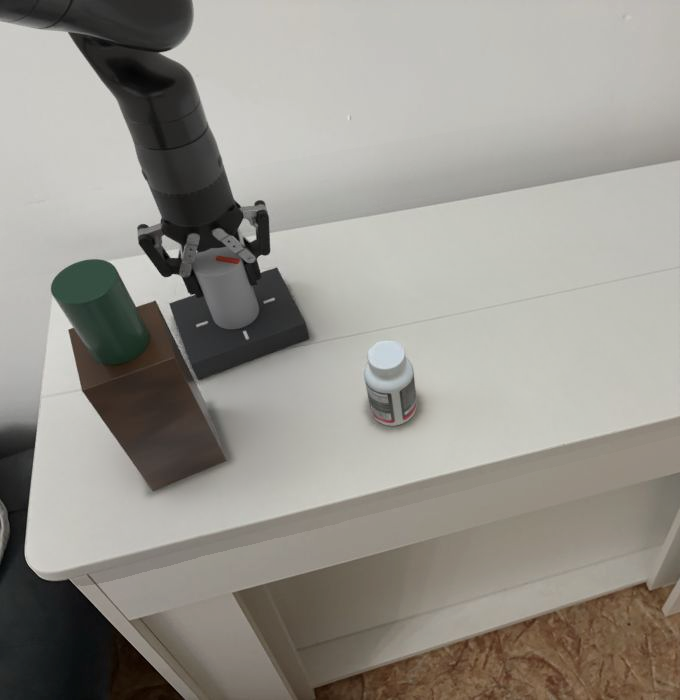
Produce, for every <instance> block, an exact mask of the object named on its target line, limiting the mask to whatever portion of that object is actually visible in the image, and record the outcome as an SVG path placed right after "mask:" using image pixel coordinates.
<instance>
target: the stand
mask: <svg viewBox="0 0 680 700" xmlns="http://www.w3.org/2000/svg"><path fill="white" fill-rule="evenodd" d="M136 308H137V310H138V311H139V313H140V315H141V317H142V319H143V321H144V323H145V325H146V327H147V329H148V331H149V333H150V341H149V344H148V346H147V348H146V349H145V350H144V351H143V352H142V353H141V354H140V355H139V356H138V357H136V358H135V359H133V360H131V361H129V362H126V363H123V364H119V365H105V364H101V363H99V362H97V361H96V360H94V358H93V357H92V356H91V354H90V353H89V351H88V349H87V348H86V346H85V345H84V343H83V342H82V340H81V339H80V337H79V335H78V334H77V332H76V331H75V329H74V328H73V327H72V328H69V329H68V330H67V331H68V336H69V339H70V344H71V348H72V353H73V357H74V358H73V359H74V362H75V366H76V371H77V375H78V380H79V385H80V389H81V392H82V393H83V395H84V396H85V397H86V399H87V400H88V401H89V404H90V405H91V406H92V407H93V409H94V410H95V412H96V413H97V415H98V416H99V417H100V419H101V420H102V421H103V423H104V425H105V426H106V428H107V429H108V430H109V431H110V433H111V435H112V436H113V437H114V438H115V440H116V441H117V443H118V444H119V446H120V448H121V449H122V450H123V451H124V453H125V455H126V456H127V457H128V458H129V460H130V461H131V463H132V464H133V466H134V467H135V468H136V470H137V472H138V473H139V474H140V476H141V477H142V478H143V480H144V482H145V483H146V485H147V486H148V487H149V488H150V490H151V491H152V492H154V491H157V490H159V489H161V488H165V487H166V486H168V485H171V484H173V483H176V482H178V481H181V480H183V479H186V478H188V477H190V476H193V475H196V474H198V473H200V472H203V471H205V470H208V469H210V468H212V467H215V466H217V465H220V464H223V463H224V462H227V457H226V455H225V451H224V448H223V446H222V443H221V441H220V437H219V435H218V431H217V429H216V426H215V423H214V421H213V417H212V415H211V412H210V410H209V409H210V408H209V407H208V405H207V403H206V401H205V399H204V397H203V395H202V393H201V391H200V389H199V387H198V385H197V383H196V380H195V378H194V376H193V375H192V372H191V370H190V368H189V366H188V364H187V362H186V359H185V357H184V355H183V354H182V352H181V349H180V348H179V345H178V343H177V342H176V340H175V337H174V335H173V333H172V331H171V329H170V327H169V325H168V323H167V321H166V319H165V317H164V315H163V312H162V311H161V308H160V306H159V304H158V302H157V301H156V300H153V301H150V302H147V303H143V304H141V305H138V306H136Z"/></svg>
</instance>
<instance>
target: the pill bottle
mask: <svg viewBox="0 0 680 700" xmlns="http://www.w3.org/2000/svg"><path fill="white" fill-rule="evenodd" d="M366 357H367V362H366V364H365V366H364V368H363V378H364V383H365V388H366V393H367V399H368V403H369V409H370V413H371V415H372V417H373V419H374V420H375V421H377V422H378V423H380V424H382V425H385V426H390V427H391V426H392V427H393V426H399V425H402V424H404V423H406V422H408V421H409V420H411V418H413V416H414V414H416V410H417V407H418V406H417V405H418V404H417V403H418V402H417V401H418V399H417V391H416V381H415V371H414V366H413V363H412V361H411V360H410V359H409V358H408V357H407V355H406V351H405V349H404V347H403V346H402V345H401V344H400V343H399V342H397V341H395V340H390V339H389V340H386V339H385V340H380V341H377V342H376V343H375V344H373V345H372V346H371V347H370V348H369V349H368V352H367V356H366Z"/></svg>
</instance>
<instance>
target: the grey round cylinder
mask: <svg viewBox="0 0 680 700" xmlns="http://www.w3.org/2000/svg"><path fill="white" fill-rule="evenodd" d="M192 268H193V271H194V273H195V276H196V278H197V280H198V283H199V285H200V288H201V290H202V293H203V295H204V298H205V300H206V303H207V305H208V307H209V310H210V312H211V315H212V317H213V320H214V322H215V323H216V324H217V325H218V326H220V327H221V328H224V329H239V328H243V327H245V326H247V325H249V324H250V323H252V322H253V321H254V320H255V319H256V317H257V316H258V313H259V305H258V302H257V299H256V296H255V293H254V290H253V287H252V286H251V283H250V279H249V276H248V273H247V270H246V267H245V263H244V260H243V259H242V258H241V257H240V256H239V255H238V254H234V253H233V252H232V251H231V250H230V249H229V248H228V247H227V246H226V247H222V248H211V249H209V250H207V251H204V252H199V253H198V252H196V256H195V261H194V263H193V265H192Z"/></svg>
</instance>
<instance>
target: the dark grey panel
mask: <svg viewBox="0 0 680 700" xmlns="http://www.w3.org/2000/svg"><path fill="white" fill-rule="evenodd" d="M260 273H261V279H259V280H257V285H252V287H253V290H254V293H255V296H256V299H257V302H258V305H259V313H258V316H257V317H256V319H255V320H254V321H253V322H252V323H250V324H249V325H247V326H245V327H243V328H239V329H224V328H221V327H220V326H218V325H217V324H216V323H215V322H214V320H213V317H212V315H211V312H210V310H209V307H208V305H207V303H206V300H205V298H204V295H203V297H200V298H197V297H196V295H195V294H193V295H190V296H187V297H184V298H181V299H178V300H175V301H172V302H169V303H168V305H169V308H170V310H171V313H172V316H173V319H174V322H175V325H176V327H177V330H178V333H179V336H180V338H181V342H182V345H183V347H184V350H185V353H186V355H187V358H188V361H189V364H190V366H191V369H192V371H193V372H194V375H195V377H196V379H197V380H198V381H199V380H201V379H204V378H207V377H210V376H213V375H216V374H218V373H221V372H223V371H225V370H229V369H231V368H234V367H237V366H239V365H242V364H245V363H248V362H250V361H253V360H256V359H258V358H261V357H263V356H266V355H270V354H271V353H275V352H277V351H280V350H283V349H285V348H288V347H290V346H293V345H296V344H298V343H302V342H304V341H306V340H309V339H310V334H309V331H308V327H307V323H306V321H305V319H304V317H303V315H302V313H301V311H300V309H299V306H298V305H297V303H296V301H295V299H294V297H293V295H292V293H291V292H290V289H289V288H288V286H287V284H286V282H285V280H284V277H283V276H282V274H281V271H280V270H279V268H278V267H277V266H276V267H273V268H271V269H267V270H265V271H262V272H261V271H260Z"/></svg>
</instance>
